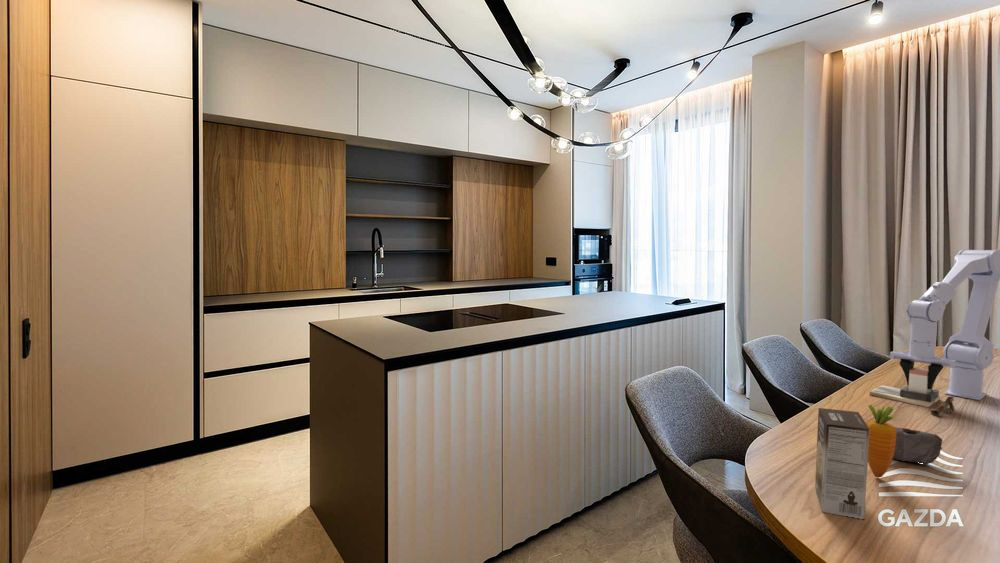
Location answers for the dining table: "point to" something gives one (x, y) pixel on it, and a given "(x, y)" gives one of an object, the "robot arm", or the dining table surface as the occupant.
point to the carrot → (881, 441)
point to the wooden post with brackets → (943, 406)
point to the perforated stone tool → (916, 446)
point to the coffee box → (842, 462)
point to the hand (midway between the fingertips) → (919, 386)
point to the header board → (907, 395)
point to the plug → (918, 380)
